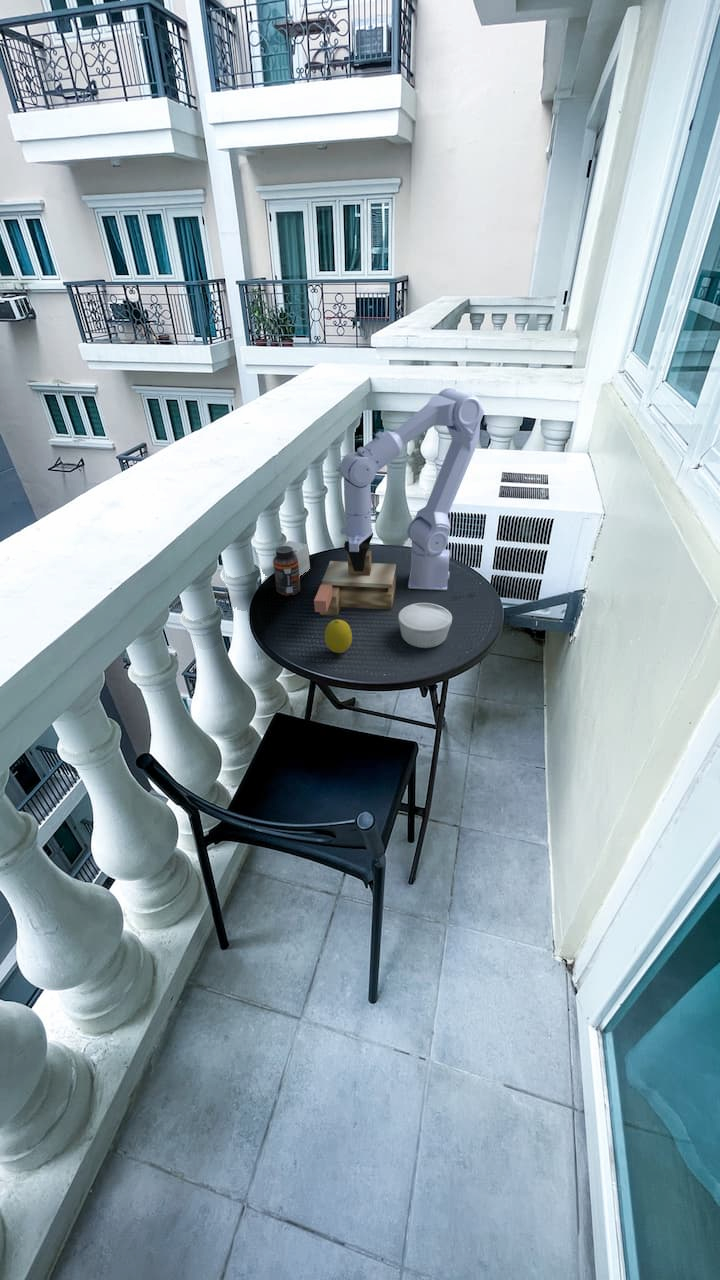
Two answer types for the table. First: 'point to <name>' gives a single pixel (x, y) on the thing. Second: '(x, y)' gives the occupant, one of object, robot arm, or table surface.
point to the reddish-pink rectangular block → (323, 598)
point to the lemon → (338, 636)
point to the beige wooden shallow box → (360, 598)
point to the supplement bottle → (286, 571)
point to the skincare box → (300, 555)
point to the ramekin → (424, 624)
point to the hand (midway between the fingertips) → (359, 567)
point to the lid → (360, 574)
